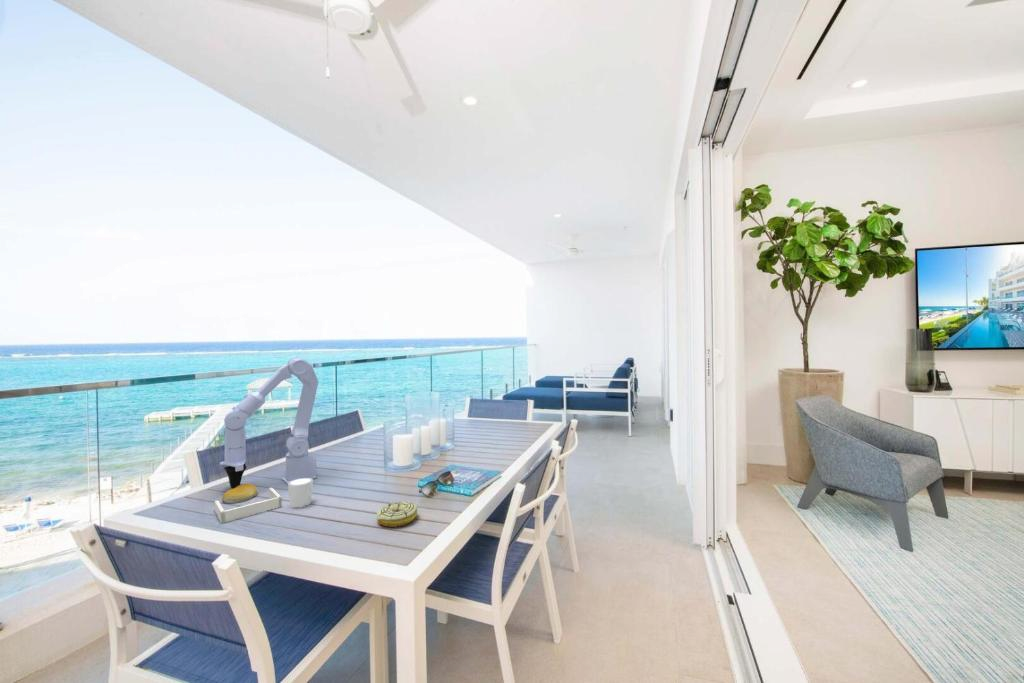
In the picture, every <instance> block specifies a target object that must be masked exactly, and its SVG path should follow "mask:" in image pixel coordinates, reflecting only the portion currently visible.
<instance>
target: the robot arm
mask: <svg viewBox="0 0 1024 683" xmlns="http://www.w3.org/2000/svg"><path fill="white" fill-rule="evenodd" d="M293 376H295V377H296V378H297V379H298V380H299V381H300V383H302V387H301V392H300V397H299V401H298V406H297V411H296V414H295V420H294V423H293V427H292V429H291V433H290V435H289V437H288V438H287V439H286V442H285V447H286V448H287V450H288V452H287V453H286V454H285V476H284V477H281V480H282V481H283V482H285V484H287V485H288V483H289V482H290V481H292V480H295V479H299V478H312V479H313V480H314V479H317V456H316V454H315V452H314V451H311V452H309V448H310V444H309V441H308V440H309V439H308V438H309V427H310V423H311V418H312V413H313V409H314V406H315V399H316V395H317V390H318V386H319V379H318V377H317V375H316V373H315V370H314V366H313V365H312V364H311V363H310V362H309V361H308V360H307V359H305V358H302V357H292V358H291V359H289V360H288V362H287V363H285V364H283V365H282V366H281V367H279V368H278V369H277V370H276V371H275V372H274V373H273V374H272V375H271V376H270V377H269V379H267V380H266V382H264V384H262V386H261V387H260V388H259V389H258V390H257V391H251V392H249V393H248V394H247V393H246V394H244V395H243V399H241V401H240V402H239V403H238V404H236V406H232V407H231V411H229V412H228V413H227V414H225V417H224V419H223V421H224V425H225V429H224V433H225V434H224V460H223V461H220V462H219V465H220V466H224V467H223V469H224V471H225V472H226V475H227V477H228V482H229V486H230V489H234V488H236V487H237V486H239V485H241V482H242V479H243V476H244V473H245V471H246V469H247V465H246V464H245V463H246V462H247V457H246V456H247V455H246V453H247V452H246V451H247V450H246V449H247V448H246V446H247V444H246V440H247V438H246V437H247V436H246V433H247V432H246V429H245V427H246V424H247V423H248V422H247V419H249V418H251V417H252V416H253V415H254V414H255V413H257V411H258V410H259V409H260V408H262V407H263V405H264V404H265V403H266V400H265V399H266V397H267V396H268V395H270V393H272V392H273V390H274V389H275V388H277V387H278V386H279V384H281V383H282V382H283V381H286V380H288V379H292V378H293Z"/></svg>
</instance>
